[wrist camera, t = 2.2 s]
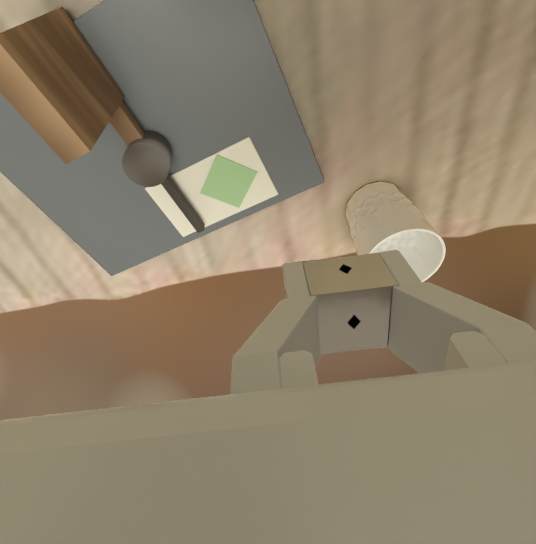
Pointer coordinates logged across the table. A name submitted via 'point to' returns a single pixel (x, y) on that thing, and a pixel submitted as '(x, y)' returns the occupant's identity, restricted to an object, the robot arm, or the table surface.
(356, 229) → the white cup
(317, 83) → the table surface
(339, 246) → the table surface
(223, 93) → the tuner board
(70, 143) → the lever
